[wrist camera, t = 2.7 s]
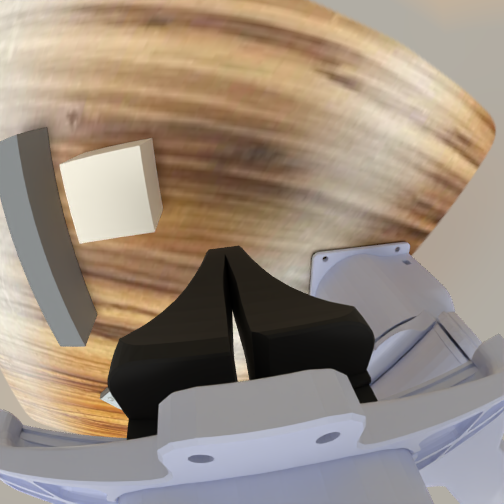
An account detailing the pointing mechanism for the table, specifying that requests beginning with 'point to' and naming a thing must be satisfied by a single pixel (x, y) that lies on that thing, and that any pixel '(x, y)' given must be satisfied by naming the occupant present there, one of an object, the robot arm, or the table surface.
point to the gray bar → (44, 236)
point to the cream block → (113, 191)
